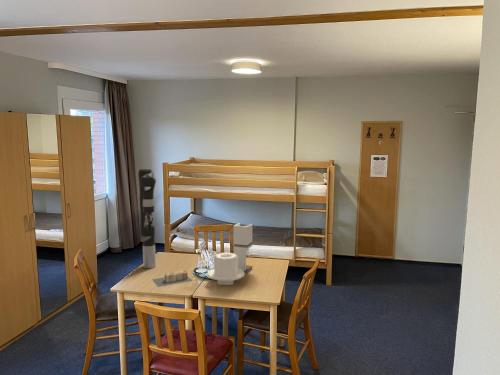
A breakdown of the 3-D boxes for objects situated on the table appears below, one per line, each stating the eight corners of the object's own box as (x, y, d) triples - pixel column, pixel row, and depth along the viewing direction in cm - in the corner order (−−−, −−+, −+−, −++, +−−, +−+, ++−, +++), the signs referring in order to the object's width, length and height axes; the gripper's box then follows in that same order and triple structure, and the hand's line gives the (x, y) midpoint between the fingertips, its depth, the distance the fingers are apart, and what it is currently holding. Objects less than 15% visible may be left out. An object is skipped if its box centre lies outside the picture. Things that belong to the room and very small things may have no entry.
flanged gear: (245, 276, 285) (245, 250, 283) (242, 289, 261) (242, 261, 258) (211, 275, 287) (210, 250, 285) (205, 288, 262) (204, 260, 260)
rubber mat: (152, 280, 277) (152, 279, 277) (184, 274, 289) (184, 273, 288) (158, 287, 263) (158, 286, 263) (192, 281, 275) (192, 280, 275)
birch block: (164, 273, 275) (185, 270, 282) (164, 280, 276) (185, 276, 283) (166, 275, 271) (187, 272, 278) (166, 282, 272) (187, 278, 279)
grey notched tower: (246, 273, 292) (247, 226, 288) (233, 271, 296) (233, 225, 291) (252, 268, 302) (252, 223, 298) (239, 267, 306) (239, 222, 302)
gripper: (156, 206, 270) (157, 231, 272) (151, 203, 282) (152, 227, 284) (145, 207, 267) (146, 232, 269) (140, 204, 278) (141, 228, 280)
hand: (149, 229), depth 276 cm, fingers closed
